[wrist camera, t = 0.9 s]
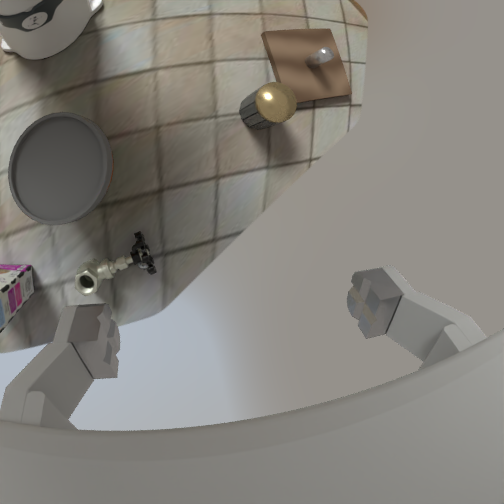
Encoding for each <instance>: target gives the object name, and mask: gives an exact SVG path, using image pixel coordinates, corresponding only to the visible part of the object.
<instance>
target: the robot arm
mask: <svg viewBox="0 0 504 504" xmlns="http://www.w3.org/2000/svg"><path fill="white" fill-rule="evenodd" d="M102 5H103V2H102V0H94V1H92V0H0V36H1V37H2V44H1V47H2V49H3V50H4V51H6V52H16V53H18V54H19V55H20V56H22V57H24V58H26V59H32V60H36V59H43V58H47V57H50V56H52V55H54V54H57V53H58V52H60V51H62V50H63V49H65V48H66V47H68V46H69V45H70V44H71V43H72V42H74V41H75V40H76V39H77V37H78V36H79V35H80V34H81V33H82V31H83V30H84V28H85V26H86V25H87V23H88V21H89V19H90V18H91V16H92V15H94V14H95V13H96V12H97V11H98V10H99V9H100V8H101V7H102ZM351 282H352V284H353V285H354V286H353V287H352V288H351V289H350V291H349V292H348V296H347V305H348V309H349V311H350V313H351V315H352V317H354V318H356V319H358V320H359V323H358V327H359V328H360V330H361V331H362V333H363V334H364V336H365V338H366V339H367V338H372V337H376V336H380V335H384V334H386V336H388V337H390V338H391V339H392V340H394V341H395V342H397V343H398V344H400V345H401V346H402V347H404V348H405V349H407V350H408V351H409V352H411V353H412V354H414V355H415V356H417V357H418V358H419V359H421V360H422V361H424V362H423V364H422V365H421V367H420V368H419V370H418V371H416V372H413V373H411V374H409V375H406V376H403V377H401V378H398V379H396V380H393V381H390V382H387V383H385V384H382V385H379V386H376V387H373V388H370V389H367V390H364V391H361V392H358V393H355V394H351V395H348V396H345V397H341V398H338V399H335V400H331V401H327V402H324V403H320V404H316V405H313V406H308V407H305V408H300V409H296V410H292V411H288V412H283V413H279V414H273V415H268V416H264V417H258V418H253V419H247V420H241V421H235V422H229V423H221V424H214V425H206V426H197V427H187V428H175V429H161V430H140V431H94V430H78V429H77V428H76V427H75V426H74V425H73V424H72V423H70V421H69V420H68V419H69V418H70V416H71V414H72V413H73V411H74V410H75V408H76V407H77V405H78V403H79V402H80V400H81V399H82V397H83V396H84V394H85V393H86V391H87V389H88V388H89V387H90V385H91V384H92V382H93V381H94V380H93V379H101V378H102V379H103V378H117V372H118V362H119V361H118V359H117V357H116V354H117V352H118V351H119V350H120V336H119V330H118V327H117V324H116V322H115V321H113V320H112V319H111V315H112V311H111V309H110V307H109V305H108V304H106V303H104V304H87V305H75V306H66V307H64V308H63V311H62V314H61V317H60V320H59V323H58V326H57V329H56V333H55V336H54V339H53V343H49V344H48V345H46V346H45V347H44V349H43V350H41V352H40V353H39V354H38V355H37V356H36V357H35V358H34V359H33V360H32V361H31V362H30V363H29V364H28V365H27V366H26V367H25V368H24V369H23V370H22V371H21V372H20V373H19V374H18V375H17V376H16V377H15V378H14V379H13V380H12V382H11V383H10V384H9V385H8V386H7V387H6V389H5V393H4V397H3V401H2V405H1V409H0V504H504V329H502V330H500V331H499V332H497V333H495V334H493V335H491V336H489V337H488V338H487V336H486V335H485V334H484V333H483V331H482V330H481V329H480V328H479V327H478V325H477V324H476V323H475V322H474V321H473V319H472V318H471V317H470V316H469V315H467V314H465V313H462V312H461V311H459V310H456V309H454V308H452V307H450V306H448V305H446V304H444V303H442V302H440V301H438V300H436V299H434V298H432V297H430V296H427V295H425V294H423V293H421V292H416V291H415V290H414V289H413V288H412V287H411V286H410V285H409V283H408V282H407V281H406V280H405V279H404V278H403V276H402V275H401V274H400V273H399V272H398V271H397V270H396V269H395V268H394V267H393V266H391V265H390V266H385V267H380V268H375V269H370V270H364V271H358V272H355V273H354V274H353V276H352V280H351Z"/></svg>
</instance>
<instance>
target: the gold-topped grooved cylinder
mask: <svg viewBox="0 0 504 504" xmlns="http://www.w3.org/2000/svg"><path fill="white" fill-rule="evenodd" d="M296 107H297V101H296V97H295V95H294V93H293V92H292V90H291V89H290V88H289V87H288V86H286V85H284V84H282V83H279V82H271V83H268V84H266V85H263V86H262V87H260V88H259V89H257V90H256V91H254V92H253V93H252V94H250V95H249V96H247V97H246V98H245V99H244V100H243V101H242V103H241V106H240V110H239V111H240V115H241V119H242V120H243V119H244V120H243V122H244V123H245V124H246V125H247V126H248V127H250V128H254V129H257V130H258V129H263V128H267V127H270V126H273V125H276V124H279V123H282V122H285V121H286V120H288V119H290V118H291V117H292V116H293V115H294V113H295V111H296Z"/></svg>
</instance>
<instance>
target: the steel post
mask: <svg viewBox="0 0 504 504" xmlns="http://www.w3.org/2000/svg"><path fill="white" fill-rule="evenodd" d="M333 57H334V53H333V51H332V50H331V49H330V48H328V47H323V48H322V49H320V50H318V51H316V52H315V53H313V54H311V55H310V56H308V57H306V59H305V63H306V65H307V66H308V67H309V68H315V67H317V66H319V65H321V64H323V63H325V62H327V61H329V60H331V59H333Z"/></svg>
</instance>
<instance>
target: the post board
mask: <svg viewBox="0 0 504 504" xmlns="http://www.w3.org/2000/svg"><path fill="white" fill-rule="evenodd" d="M261 36H262V39H263V42H264V45H265V48H266V51H267V54H268V57H269V60H270V63H271V66H272V69H273V72H274V75H275V78H276V81H277V82H279V83H282V84H284V85H286V86H288V87H289V88H290V89H291V90H292V92H293V93H294V95H295V97H296V101H297V103H302V102H307V101H313V100H319V99H325V98H332V97H339V96H346V95H350V94H352V92H351V89H350V85H349V82H348V79H347V76H346V72H345V69H344V66H343V63H342V60H341V57H340V54H339V52H338V49H337V46H336V43H335V40H334V38H333V35H332V32H331V30H330V29H293V30H277V31H266V32H263V33H262V34H261ZM323 47H328V48H330V49H331V50H332V51H333V53H334V57H333V59H331V60H329V61H327V62H325V63H323V64H321V65H319V66H317V67H315V68H309V67H308V66H307V65H306V63H305V59H306V57H308V56H310V55H311V54H313V53H315V52H316V51H318V50H320V49H322V48H323Z"/></svg>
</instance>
